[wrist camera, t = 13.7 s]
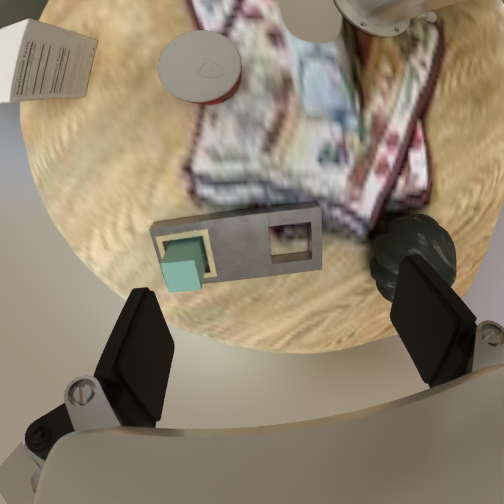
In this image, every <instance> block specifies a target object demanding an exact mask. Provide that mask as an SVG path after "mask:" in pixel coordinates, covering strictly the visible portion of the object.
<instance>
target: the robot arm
mask: <svg viewBox="0 0 504 504" xmlns="http://www.w3.org/2000/svg"><path fill="white" fill-rule="evenodd" d="M333 1H334V4H335V6H336V7H337V9H338V11H339V12H340V13H341V14H342V16H343V17H344V18H345V19H346V20H347V21H348V22H349V23H351V24H352V25H353V26H355V27H356V28H358V29H359V30H361V31H363V32H365V33H368V34H370V35H373V36H377V37H393V36H396V35H399V34H401V33H403V32H404V31H405V30H406V29H407V28H408V26H409V24H410V21H411V19H413V18H415V19H419V18H423V19H425V20H428V21H431V22H435V21H436V20H437V15H436V13H435V12H433V10H436V9H439V8H442V7H445V6H449V5H452V4H455V3H459V2H462V1H465V0H333ZM502 2H503V3H504V0H502ZM361 25H362V26H361ZM390 319H391V322H392V324H393V325H394V327H395V329H396V331H397V332H398V334H399V336H400V338H401V339H402V341H403V343H404V345H405V347H406V349H407V351H408V352H409V354H410V356H411V358H412V360H413V362H414V364H415V366H416V368H417V370H418V372H419V374H420V376H421V378H422V380H423V381H424V382H425V383H428V385H429V387H430V389H428V390H425V391H422V392H419V393H416V394H413V395H410V396H407V397H404V398H401V399H398V400H395V401H391V402H388V403H384V404H381V405H377V406H373V407H369V408H366V409H361V410H357V411H353V412H349V413H344V414H339V415H335V416H330V417H324V418H319V419H313V420H307V421H301V422H294V423H286V424H278V425H269V426H259V427H246V428H227V429H166V428H163V429H162V428H155V426H156V421H160V419H161V414H162V409H163V404H164V398H165V393H166V388H167V383H168V378H169V373H170V368H171V363H172V359H173V354H174V341H173V339H172V336H171V334H170V332H169V329H168V326H167V324H166V321H165V319H164V316H163V314H162V311H161V309H160V306H159V303H158V301H157V298H156V295H155V293H154V291H150V290H149V288H147V287H145V288H134V289H133V290H132V291H131V293H130V295H129V297H128V299H127V301H126V303H125V305H124V307H123V309H122V311H121V313H120V316H119V318H118V320H117V322H116V324H115V326H114V328H113V330H112V333H111V335H110V337H109V339H108V342H107V344H106V346H105V349H104V351H103V353H102V355H101V358H100V360H99V362H98V365H97V367H96V370H95V373H94V376H89V375H84V376H80V377H77V378H75V379H74V380H73V381H71V382H70V383H69V384H68V386H67V388H66V390H65V393H64V401H65V403H63V404H62V405H60V406H59V407H57V408H55V409H54V410H52V411H50V412H49V413H48V414H46V415H44V416H42V417H41V418H39V419H37V420H36V421H34V422H33V423H32V424H30V426H29V427H28V429H27V431H26V433H25V444H23V443H21V444H20V445H19V446H18V447H17V448H16V449H15V450H14V451H13V452H12V453H11V454H10V456H9V457H8V458H7V459H6V460H5V461H4V462H3V463H2V465H0V492H1V493H2V495H3V497H4V499H5V500H6V502H7V504H504V328H503V327H502V326H501V325H500V324H498V323H496V322H494V321H489V320H487V321H483V322H481V323H479V325H478V326H477V325H476V323H475V321H476V319H477V318H476V317H475V315H474V314H473V313H472V312H471V310H470V309H469V308H468V307H467V306H466V304H465V303H464V302H463V301H462V300H461V298H460V297H459V296H458V295H457V294H456V293H455V292H454V290H453V289H452V288H451V287H450V286H449V285H448V284H447V283H446V281H445V280H444V279H443V278H442V277H441V276H440V275H439V274H438V273H437V272H436V271H435V270H434V268H433V267H432V266H431V265H430V264H429V263H428V262H427V261H426V260H425V259H424V258H423V257H422V256H421V255H420V254H412V255H406V256H405V257H404V259H403V260H401V262H400V267H399V272H398V278H397V283H396V288H395V293H394V298H393V303H392V307H391V312H390Z"/></svg>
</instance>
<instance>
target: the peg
mask: <svg viewBox="0 0 504 504" xmlns="http://www.w3.org/2000/svg"><path fill="white" fill-rule="evenodd" d="M206 263H207V256H206V251H205V246H204V241H203V236H197V237H190V238H183V239H175V240H171V242H170V244H169V246H168V248H167V250H166V252H165V254H164V257H163V259H162V261H161V263H160V264H161V268H162V271H163V275H164V278H165V281H166V285H167V288H168V291H169V292H180V291H192V290H201V288H202V283H203V278H204V273H205V268H206Z"/></svg>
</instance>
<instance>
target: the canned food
mask: <svg viewBox="0 0 504 504" xmlns="http://www.w3.org/2000/svg"><path fill="white" fill-rule="evenodd" d="M241 70H242V66H241V58H240V55H239V52H238V50H237V49H236V47H235V46H234V44H233V43H232V42H231V41H230V40H229V39H227V38H226V37H224V36H223V35H221V34H218V33H216V32H212V31H207V30H197V31H190V32H187V33H184V34H182V35H180V36H178V37H176V38H175V39H174V40H172V41H171V42H170V43H169V44H168V45H167V46H166V47H165V49H164V50H163V52H162V54H161V56H160V59H159V64H158V72H159V77H160V80H161V82H162V84H163V85H164V87H165V88H166V89H167V90H168V91H169V92H170V93H171V94H172V95H174V96H175V97H177V98H179V99H181V100H184V101H188V102H192V103H198V104H205V105H213V104H218V103H222V102H224V101H226V100H228V99H229V98H230V97H232V96H233V95H234V94H235V93H236V91H237V90H238V88H239V85H240V82H241Z"/></svg>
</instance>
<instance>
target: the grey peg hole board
mask: <svg viewBox="0 0 504 504" xmlns="http://www.w3.org/2000/svg"><path fill="white" fill-rule="evenodd" d="M304 222H308V246H309V251H307V252H299V253H291V254H282V255H274V256H271V250H270V240H269V230H268V227H269V226H278V225H286V224H295V223H304ZM149 230H150V233H151V237H152V240H153V244H154V247H155V251H156V254H157V257H158V261H159V264H160V263H161V261H162V259H163V257H164V254H165V252H166V250H167V248H168V246H169V241H168V240H175V239H183V238H190V237H197V236H203V239H204V244H205V248H206V253H207V258H208V262H209V263H208V264H206V268H205V273H204V278H203V283H202V284H206V283H215V282H224V281H233V280H241V279H250V278H258V277H267V276H275V275H283V274H291V273H298V272H306V271H314V270H321V269H322V214H321V206H320V205H319V203H318V202H317V201H315V202H304V203H295V204H286V205H277V206H268V207H259V208H251V209H243V210H235V211H228V212H220V213H213V214H206V215H199V216H192V217H185V218H179V219H172V220H166V221H160V222H154V223H153V225H152V226H151V228H150V229H149ZM160 267H161V264H160ZM161 270H162V268H161ZM162 273H163V271H162ZM163 277H164V275H163ZM164 280H165V278H164ZM165 283H166V281H165ZM166 286H167V285H166Z"/></svg>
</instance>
